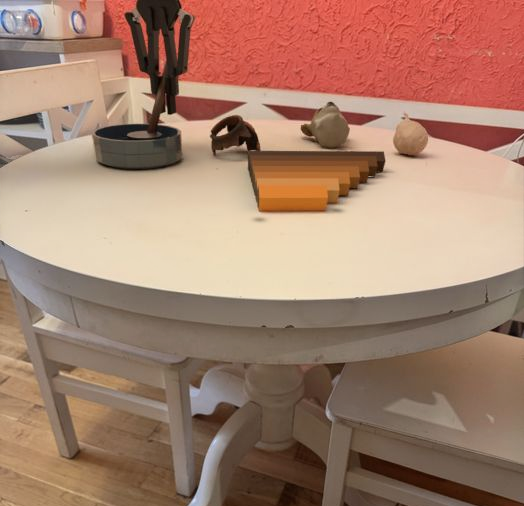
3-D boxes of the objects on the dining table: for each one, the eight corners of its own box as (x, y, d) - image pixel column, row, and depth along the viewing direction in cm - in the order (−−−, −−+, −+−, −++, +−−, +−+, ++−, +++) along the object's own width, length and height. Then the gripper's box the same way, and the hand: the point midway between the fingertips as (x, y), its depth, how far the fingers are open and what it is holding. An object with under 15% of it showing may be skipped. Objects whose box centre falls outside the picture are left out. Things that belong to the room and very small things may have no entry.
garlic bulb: (418, 151, 108) (426, 111, 103) (427, 158, 102) (436, 116, 98) (388, 151, 107) (395, 110, 103) (396, 158, 102) (403, 115, 98)
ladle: (154, 156, 92) (145, 67, 84) (123, 153, 94) (111, 65, 85) (189, 137, 106) (185, 60, 98) (162, 135, 108) (155, 58, 100)
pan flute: (378, 167, 95) (247, 167, 93) (381, 149, 93) (247, 148, 91) (424, 211, 75) (259, 212, 73) (429, 188, 73) (259, 188, 71)
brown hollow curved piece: (267, 162, 98) (249, 125, 92) (224, 182, 101) (204, 147, 95) (260, 133, 106) (244, 97, 100) (221, 153, 108) (202, 119, 102)
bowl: (79, 166, 91) (74, 136, 88) (121, 147, 104) (118, 121, 101) (162, 174, 88) (159, 144, 85) (194, 153, 101) (193, 127, 98)
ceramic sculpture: (312, 104, 101) (300, 98, 114) (309, 149, 105) (297, 139, 118) (363, 105, 102) (345, 99, 115) (358, 150, 106) (341, 139, 119)
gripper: (202, -31, 89) (207, 112, 103) (127, -32, 92) (141, 107, 106) (186, -34, 83) (193, 118, 97) (107, -36, 86) (125, 113, 100)
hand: (166, 113), depth 101 cm, fingers closed on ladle, 2 cm apart
